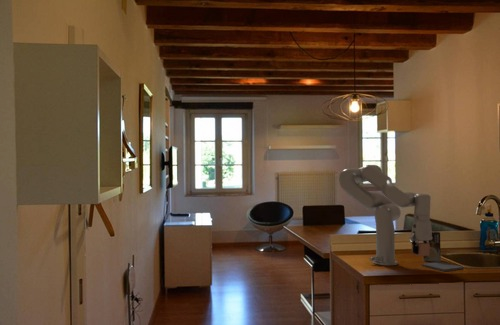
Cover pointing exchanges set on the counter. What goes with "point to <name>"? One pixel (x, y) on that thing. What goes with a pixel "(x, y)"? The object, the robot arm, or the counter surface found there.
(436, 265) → the mat
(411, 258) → the counter surface
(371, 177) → the robot arm
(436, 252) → the coffee box
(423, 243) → the terracotta cube
